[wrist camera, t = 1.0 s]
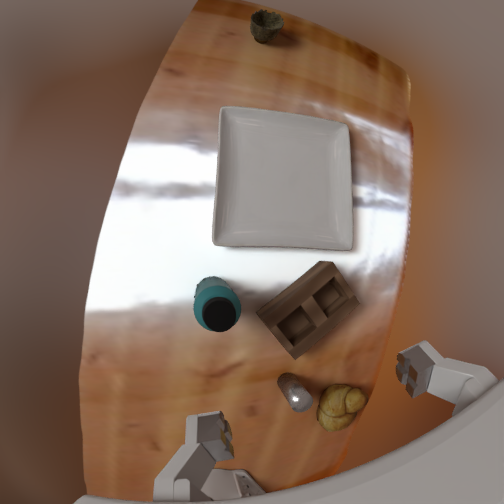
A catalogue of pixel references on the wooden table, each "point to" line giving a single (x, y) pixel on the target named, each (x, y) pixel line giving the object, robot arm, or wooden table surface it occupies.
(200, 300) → the beverage bottle
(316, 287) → the socket block
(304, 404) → the steel pin
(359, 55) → the wooden table surface
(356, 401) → the bread roll
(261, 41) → the cup
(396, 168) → the wooden table surface
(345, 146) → the square plate
